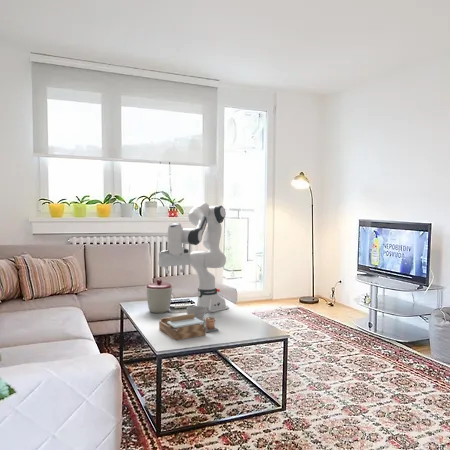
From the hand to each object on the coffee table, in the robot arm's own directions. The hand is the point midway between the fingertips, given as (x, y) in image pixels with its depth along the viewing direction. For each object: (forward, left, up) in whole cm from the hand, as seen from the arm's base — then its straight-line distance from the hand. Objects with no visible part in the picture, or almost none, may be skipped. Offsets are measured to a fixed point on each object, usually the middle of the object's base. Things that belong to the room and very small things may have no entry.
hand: (174, 273), depth 267 cm
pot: (-10, +26, -28) cm, 40 cm away
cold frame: (+6, +23, -29) cm, 37 cm away
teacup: (-13, +6, -29) cm, 33 cm away
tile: (-9, +27, -29) cm, 41 cm away
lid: (+6, +28, -23) cm, 36 cm away
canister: (0, -24, -29) cm, 38 cm away
